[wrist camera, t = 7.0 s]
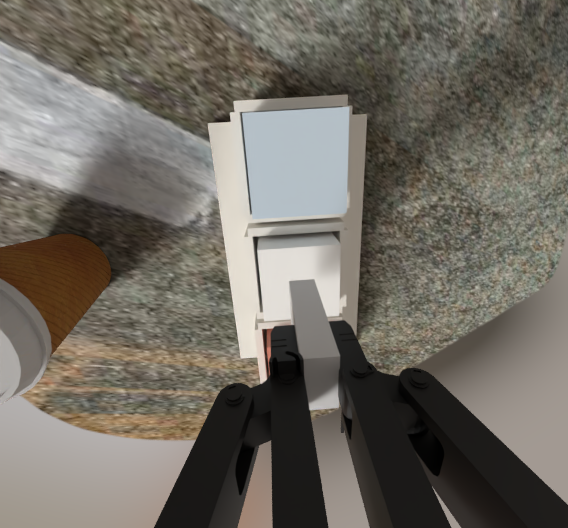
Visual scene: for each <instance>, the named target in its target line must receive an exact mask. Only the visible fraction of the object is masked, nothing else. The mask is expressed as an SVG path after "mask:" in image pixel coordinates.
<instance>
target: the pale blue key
mask: <svg viewBox="0 0 568 528" xmlns="http://www.w3.org/2000/svg"><path fill="white" fill-rule="evenodd" d="M242 118H243V128H244V138H245V148H246V158H247V168H248V178H249V188H250V198H251V208H252V218H253V219H266V218H281V217H296V216H312V215H327V214H342V213H347V178H348V142H349V107H337V108H320V109H303V110H286V111H268V112H251V113H242Z"/></svg>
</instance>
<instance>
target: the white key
mask: <svg viewBox="0 0 568 528" xmlns="http://www.w3.org/2000/svg"><path fill="white" fill-rule="evenodd" d="M257 253H258V263H259V273H260V284H261V294H262V304H263V315H264V321H275V320H289V319H291V311H290V293H289V281H295V280H309V279H314V280H315V283H316V286H317V289H318V292H319V295H320V298H321V301H322V304H323V307H324V310H325V313H326V316H327V317H330V316H339V302H340V254H341V244H340V243H339V241H338V240H337V239H336V237H335V236H334V235H333V233H332V232H331V231H329V232H314V233H299V234H284V235H269V236H259V240H258V248H257Z"/></svg>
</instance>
